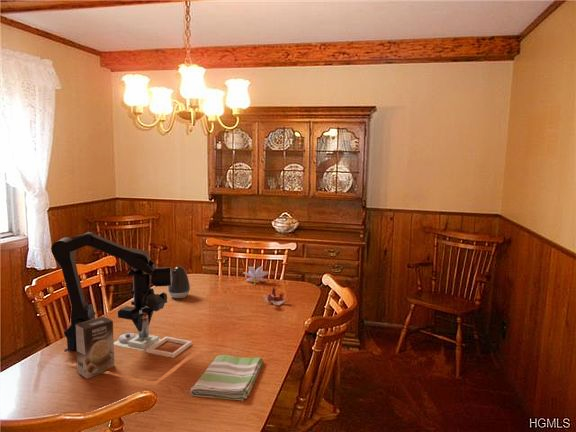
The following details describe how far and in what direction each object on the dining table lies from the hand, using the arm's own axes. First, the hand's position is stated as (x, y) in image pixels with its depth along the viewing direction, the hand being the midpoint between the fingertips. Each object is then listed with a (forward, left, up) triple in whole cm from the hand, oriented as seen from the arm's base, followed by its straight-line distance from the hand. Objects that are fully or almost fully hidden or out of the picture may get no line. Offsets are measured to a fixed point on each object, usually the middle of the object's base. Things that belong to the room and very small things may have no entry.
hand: (143, 329), depth 152 cm
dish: (0, -11, -6) cm, 13 cm away
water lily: (+84, -6, -6) cm, 84 cm away
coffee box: (-20, +2, -6) cm, 21 cm away
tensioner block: (0, +3, -6) cm, 7 cm away
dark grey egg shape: (+49, +19, -6) cm, 53 cm away
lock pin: (0, 0, -2) cm, 2 cm away
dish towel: (-8, -39, -7) cm, 40 cm away
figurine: (+58, -27, -6) cm, 64 cm away
